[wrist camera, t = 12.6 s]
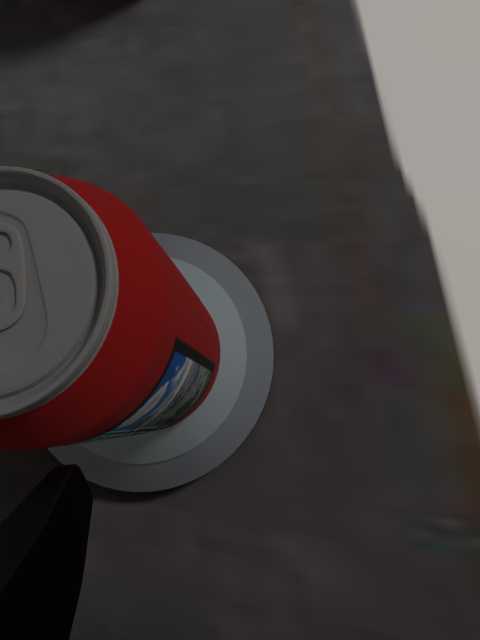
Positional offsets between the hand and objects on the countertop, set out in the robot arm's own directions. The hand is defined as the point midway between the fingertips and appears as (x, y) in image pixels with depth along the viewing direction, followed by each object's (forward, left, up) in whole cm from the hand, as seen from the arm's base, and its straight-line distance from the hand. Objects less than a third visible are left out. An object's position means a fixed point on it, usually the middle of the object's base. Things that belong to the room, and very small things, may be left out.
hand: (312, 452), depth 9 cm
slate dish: (+4, +7, -13) cm, 15 cm away
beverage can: (+4, +6, -12) cm, 14 cm away
